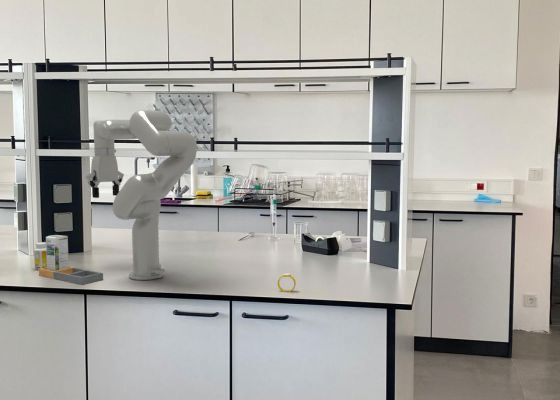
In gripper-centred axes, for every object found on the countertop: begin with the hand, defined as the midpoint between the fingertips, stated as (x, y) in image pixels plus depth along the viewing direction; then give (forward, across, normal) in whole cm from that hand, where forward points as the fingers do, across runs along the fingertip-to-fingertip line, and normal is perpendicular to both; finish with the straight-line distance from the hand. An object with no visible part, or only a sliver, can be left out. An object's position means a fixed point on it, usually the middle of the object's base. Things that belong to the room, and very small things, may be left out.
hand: (106, 196), depth 242 cm
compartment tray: (+28, +19, +2) cm, 34 cm away
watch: (+29, -10, +79) cm, 85 cm away
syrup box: (+28, +19, -6) cm, 34 cm away
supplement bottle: (+28, +16, -20) cm, 38 cm away
